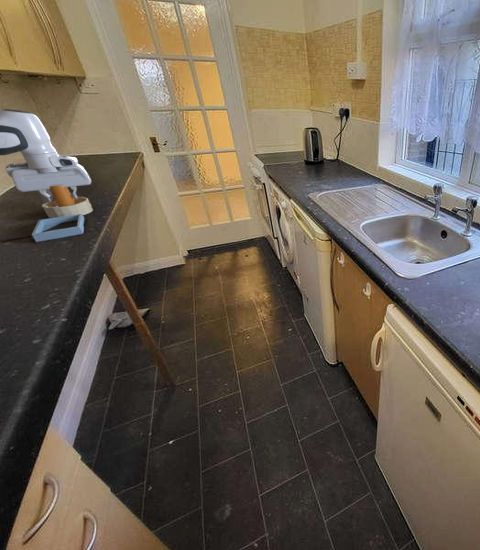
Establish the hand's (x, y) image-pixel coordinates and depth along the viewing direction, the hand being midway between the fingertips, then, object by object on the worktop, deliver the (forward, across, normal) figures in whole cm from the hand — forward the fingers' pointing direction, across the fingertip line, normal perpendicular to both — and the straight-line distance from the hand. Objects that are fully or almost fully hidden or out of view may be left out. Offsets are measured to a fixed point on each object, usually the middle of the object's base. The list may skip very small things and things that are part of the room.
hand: (64, 199), depth 112 cm
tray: (+6, -2, -18) cm, 19 cm away
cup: (+6, -4, +14) cm, 16 cm away
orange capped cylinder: (+5, 0, 0) cm, 5 cm away
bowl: (+6, 0, 0) cm, 6 cm away
